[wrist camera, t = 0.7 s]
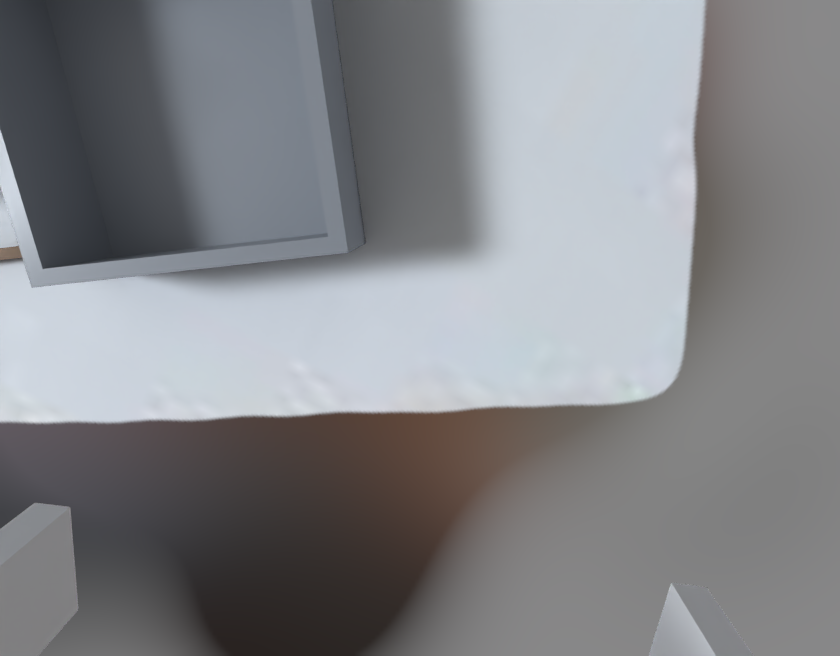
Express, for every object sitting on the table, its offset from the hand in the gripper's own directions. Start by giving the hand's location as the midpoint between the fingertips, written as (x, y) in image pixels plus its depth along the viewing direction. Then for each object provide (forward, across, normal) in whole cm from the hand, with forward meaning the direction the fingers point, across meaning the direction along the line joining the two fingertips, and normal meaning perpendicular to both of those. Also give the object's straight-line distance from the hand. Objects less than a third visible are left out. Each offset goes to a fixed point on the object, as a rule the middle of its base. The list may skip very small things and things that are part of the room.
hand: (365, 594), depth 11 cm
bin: (+26, -16, +12) cm, 32 cm away
